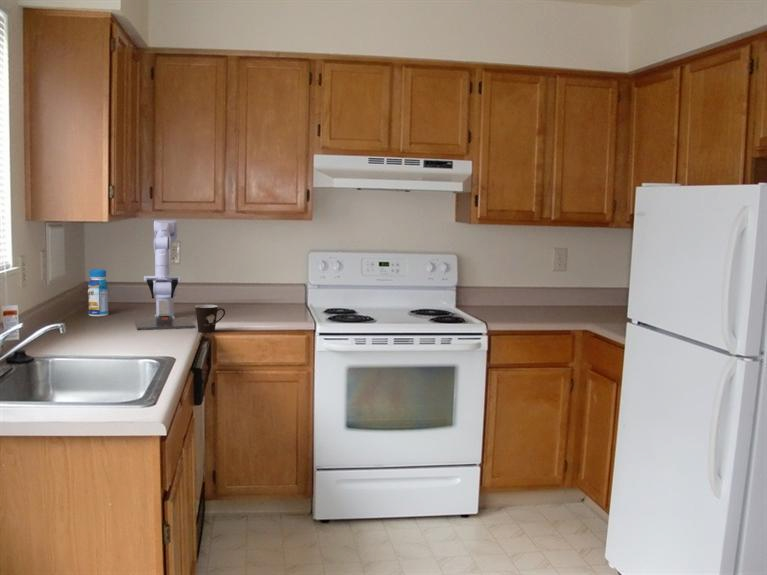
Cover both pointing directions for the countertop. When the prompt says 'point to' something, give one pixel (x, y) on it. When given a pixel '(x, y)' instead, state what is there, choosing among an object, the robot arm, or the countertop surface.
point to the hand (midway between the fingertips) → (162, 298)
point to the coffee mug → (207, 317)
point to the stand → (163, 323)
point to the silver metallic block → (163, 307)
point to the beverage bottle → (98, 293)
